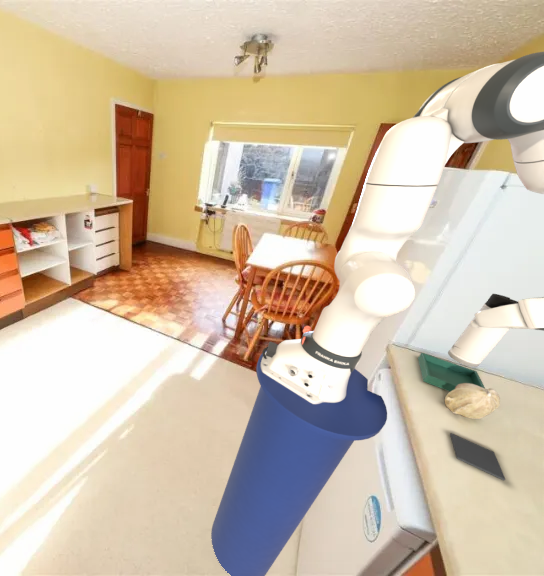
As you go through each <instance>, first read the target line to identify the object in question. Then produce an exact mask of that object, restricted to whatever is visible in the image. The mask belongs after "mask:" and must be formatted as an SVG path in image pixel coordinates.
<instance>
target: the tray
mask: <svg viewBox="0 0 544 576" xmlns="http://www.w3.org/2000/svg"><path fill="white" fill-rule="evenodd" d="M417 361H418V365H419V369H420V374H421V378H422V381H423V382H424V383H427V384H429V385H432V386H434V387H437V388H440V389H442V390H444V391H447V392H450V391H452V390H454V389H455V387H456V386H457V385H458V384H462V383H470V384H475V385H477V386H480V387H483V388H485V389H486V387H485V385H484V383H483V381H482V379H481V377H480V375H479V373H478V371H477V370H474V369H471V368H468V367H466V366H462V365H460V364H457V363H454V362H451V361H448V360H444V359H442V358H439V357H437V356H434V355H430V354H427V353H425V352H421V353H420V354H419V356H418V357H417Z"/></svg>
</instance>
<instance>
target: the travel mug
mask: <svg viewBox="0 0 544 576" xmlns="http://www.w3.org/2000/svg"><path fill="white" fill-rule="evenodd" d="M517 303H518V300H514V299H512V298H511V297H508V296H505V295H501V294H496V293H492V294H491V295H490V296H489V298H488V299H487V300H486V302H484V304H483V305H482V306H481V308H480V309H479V310H478V312H479V311H483V310H487V309H491V308H496V307H500V306H505V305H510V304H517ZM472 320H476V319H475V316H474V317H473V318H472ZM510 330H511V328H482V327H472V325H471V321H470V322H469V324H468V325H467V326H466V327H465V329H464V330H463V331H462V332H461V334H460V335H459V337H458V338H457V339H456V341H454V343H453V345H452V346H451V347H450V348H449V350H448V351H447V354H448V356H449V357H450V358H451V359H452V360H454V361H456V362H457V363H460V364H461V365H464V366H467V367H473V368H476V367H479V366H480V365H481V364H482V362H483V361H484V360H485V359H486V358H487V357H488V355H489V354H490V353H491V352H492V350H494V348H495V347H496V346H497V345H498V344H499V342H500V341H501V340H502V339H503V338H504V336H505V335H506V334H507V333H508V332H509V331H510Z"/></svg>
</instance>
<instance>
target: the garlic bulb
mask: <svg viewBox="0 0 544 576" xmlns="http://www.w3.org/2000/svg"><path fill="white" fill-rule="evenodd" d="M444 405H445V407H446V408H447V409H449V410H450V411H451V412H452V414H455V415H459V416H461V417H464V418H468V419H475V420H477V419H482V418H484V417H486V416H489V415H491V414H492V413H493V412H494V411H495V410H497V409H498V408H500V405H501V398H500V395H499V394H498V392H497V390H496V389H495V388H491V387H490V388H486V387H485V388H483V387H480V386H477V385H475V384H470V383H462V384H458V385H457V386H456V387H455V389H454V390H452V391H448V392H447V394H446V395H445V398H444Z"/></svg>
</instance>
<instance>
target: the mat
mask: <svg viewBox="0 0 544 576" xmlns="http://www.w3.org/2000/svg"><path fill="white" fill-rule="evenodd" d="M449 436H450V438H451V439H450V440H451V444H452V446H453V450H454V454H455V457H456V459H457V460H459V461H461V462H463V463H465V464H467V465H470V466H472V467H473V468H476V469H478V470H479V471H482V472H485V473H487V474H489V475H490V476H493V477H495V478H497V479H500V480H502V481H506V478H505V475H504V473H503V470H502V468H501V465H500V463H499V460H498V458H497V456H496V454H495V452H494V450H491V449H489V448H487V447H483V446H482V445H480V444H477V443H475V442H473V441H470V440H468V439H466V438H464V437H461V436H459V435H458V434H457V435H456V434H454V433H453V432H451V433H449Z"/></svg>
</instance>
